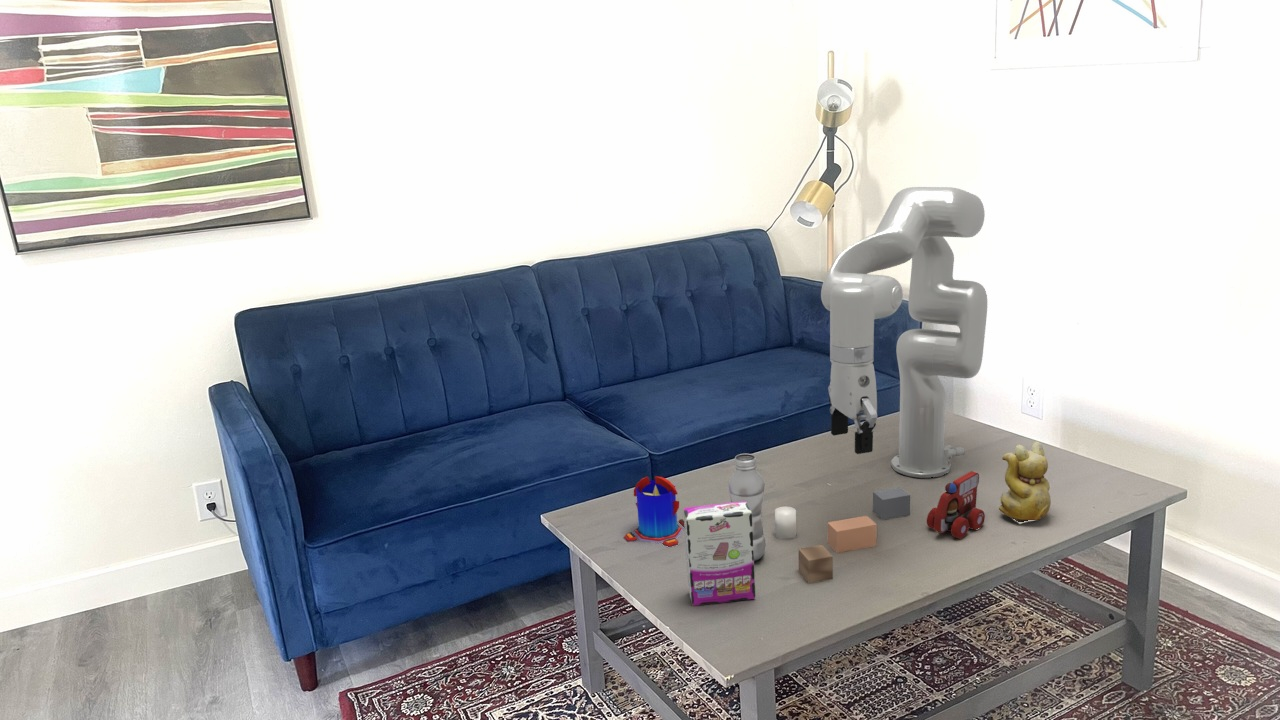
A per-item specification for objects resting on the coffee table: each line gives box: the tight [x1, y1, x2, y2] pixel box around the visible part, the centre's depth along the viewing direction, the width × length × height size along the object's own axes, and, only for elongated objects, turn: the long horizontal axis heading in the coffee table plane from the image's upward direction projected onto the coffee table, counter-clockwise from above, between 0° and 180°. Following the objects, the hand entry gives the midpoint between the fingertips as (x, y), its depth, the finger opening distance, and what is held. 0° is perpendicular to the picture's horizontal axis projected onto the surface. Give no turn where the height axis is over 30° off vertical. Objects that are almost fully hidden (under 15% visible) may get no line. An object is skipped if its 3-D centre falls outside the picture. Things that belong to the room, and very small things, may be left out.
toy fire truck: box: [926, 471, 986, 540], centre depth 175 cm, size 7×12×10 cm, turn 128°
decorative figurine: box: [998, 441, 1052, 522], centre depth 177 cm, size 10×8×15 cm
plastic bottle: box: [727, 453, 767, 562], centre depth 168 cm, size 6×7×20 cm
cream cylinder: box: [774, 506, 797, 540], centre depth 178 cm, size 4×4×5 cm
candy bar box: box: [682, 501, 756, 607], centre depth 156 cm, size 11×5×16 cm, turn 96°
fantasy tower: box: [622, 476, 684, 548], centre depth 181 cm, size 12×12×12 cm
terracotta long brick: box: [827, 515, 878, 554], centre depth 172 cm, size 8×4×4 cm, turn 104°
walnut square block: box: [797, 544, 834, 584], centre depth 162 cm, size 4×4×4 cm
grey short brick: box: [872, 486, 911, 521], centre depth 183 cm, size 6×4×4 cm, turn 104°
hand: (851, 443), depth 167 cm, fingers open, 9 cm apart
